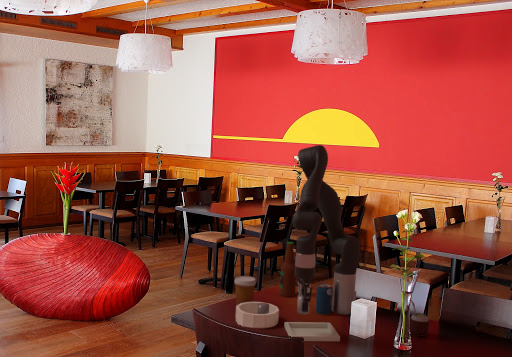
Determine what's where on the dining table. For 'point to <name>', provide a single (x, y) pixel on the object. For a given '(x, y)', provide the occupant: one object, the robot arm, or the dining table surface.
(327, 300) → the soda can
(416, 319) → the mate gourd
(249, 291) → the disposable coffee cup
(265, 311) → the grey cylinder
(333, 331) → the tray
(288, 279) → the bottle
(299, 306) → the grey cylinder
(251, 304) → the bowl
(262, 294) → the dining table surface
